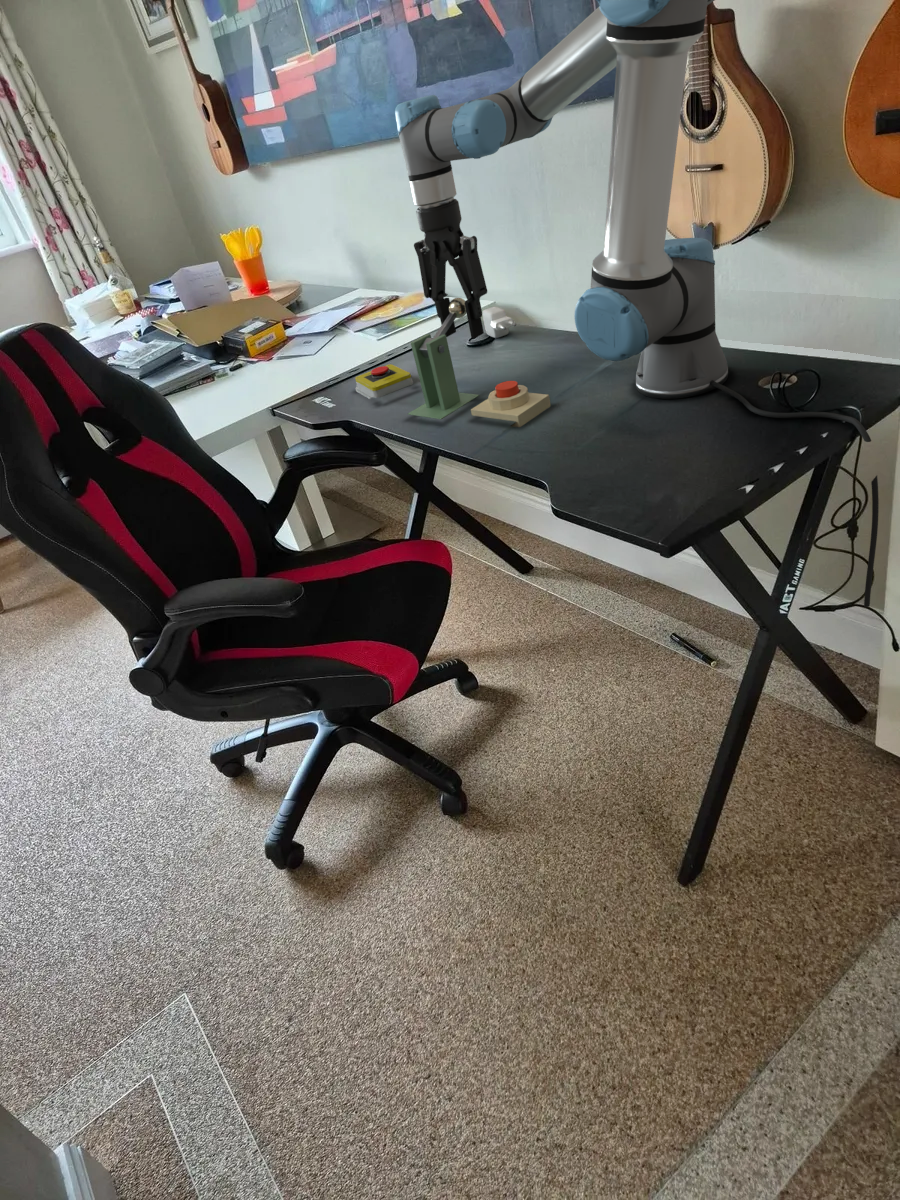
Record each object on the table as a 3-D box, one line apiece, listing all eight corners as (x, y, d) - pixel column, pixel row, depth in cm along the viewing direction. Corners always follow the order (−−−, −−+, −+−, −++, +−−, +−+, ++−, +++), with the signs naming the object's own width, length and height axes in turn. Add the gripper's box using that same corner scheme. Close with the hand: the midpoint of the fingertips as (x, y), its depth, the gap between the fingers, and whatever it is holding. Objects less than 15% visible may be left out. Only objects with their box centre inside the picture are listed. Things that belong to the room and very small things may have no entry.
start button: (523, 391, 137) (522, 381, 136) (509, 400, 135) (508, 390, 134) (506, 389, 140) (504, 379, 139) (492, 398, 138) (490, 388, 137)
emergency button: (387, 356, 170) (415, 369, 158) (392, 375, 172) (420, 390, 161) (348, 371, 167) (375, 385, 156) (354, 390, 170) (380, 405, 158)
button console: (550, 406, 138) (547, 384, 136) (519, 427, 134) (515, 405, 132) (503, 400, 146) (500, 380, 143) (472, 420, 141) (468, 400, 139)
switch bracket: (447, 396, 154) (431, 327, 146) (480, 400, 148) (465, 328, 141) (408, 419, 148) (390, 348, 141) (442, 424, 143) (424, 351, 135)
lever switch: (460, 308, 147) (451, 293, 144) (474, 308, 145) (465, 293, 142) (424, 360, 144) (414, 346, 141) (438, 361, 141) (428, 347, 139)
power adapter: (522, 338, 174) (518, 311, 171) (503, 345, 173) (498, 318, 170) (501, 329, 183) (497, 304, 180) (483, 335, 182) (478, 310, 179)
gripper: (492, 192, 130) (515, 329, 143) (412, 201, 142) (440, 326, 155) (463, 204, 126) (489, 344, 139) (383, 212, 138) (414, 340, 151)
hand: (463, 334), depth 147 cm, fingers open, 6 cm apart
